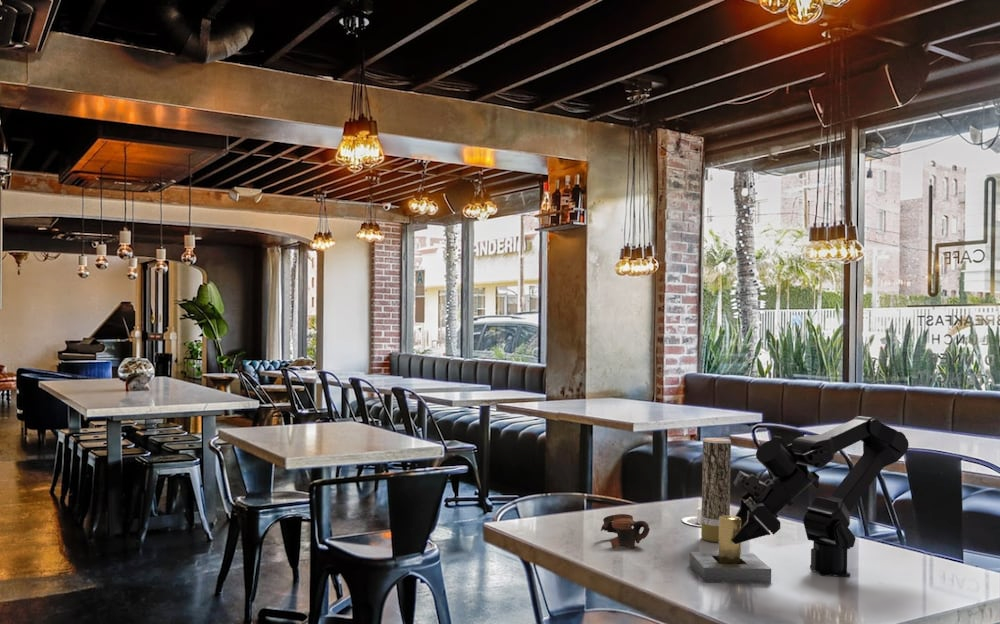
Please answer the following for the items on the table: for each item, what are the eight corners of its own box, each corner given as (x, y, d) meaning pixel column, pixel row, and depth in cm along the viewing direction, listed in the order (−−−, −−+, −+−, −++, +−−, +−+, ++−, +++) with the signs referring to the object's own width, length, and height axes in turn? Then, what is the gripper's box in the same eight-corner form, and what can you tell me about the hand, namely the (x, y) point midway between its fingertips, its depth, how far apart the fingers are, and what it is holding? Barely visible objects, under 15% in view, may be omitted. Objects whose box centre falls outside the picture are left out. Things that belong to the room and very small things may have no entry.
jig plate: (752, 566, 182) (752, 553, 182) (771, 583, 170) (771, 568, 170) (689, 565, 182) (689, 551, 182) (703, 582, 170) (704, 567, 170)
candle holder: (673, 520, 227) (674, 504, 227) (711, 518, 230) (711, 502, 230) (696, 530, 215) (697, 514, 215) (736, 528, 219) (736, 512, 219)
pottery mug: (599, 549, 195) (595, 515, 199) (610, 558, 202) (606, 525, 207) (648, 541, 191) (643, 507, 196) (657, 551, 199) (652, 517, 203)
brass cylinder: (736, 571, 178) (737, 515, 178) (743, 577, 173) (744, 520, 174) (715, 570, 178) (716, 515, 178) (721, 577, 173) (722, 520, 174)
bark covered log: (726, 536, 208) (728, 438, 208) (731, 543, 201) (733, 441, 201) (699, 535, 208) (701, 437, 209) (703, 542, 202) (705, 440, 202)
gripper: (750, 453, 185) (700, 499, 186) (764, 466, 166) (707, 518, 168) (787, 489, 183) (735, 536, 185) (804, 507, 165) (747, 559, 166)
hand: (730, 536), depth 176 cm, fingers open, 9 cm apart
